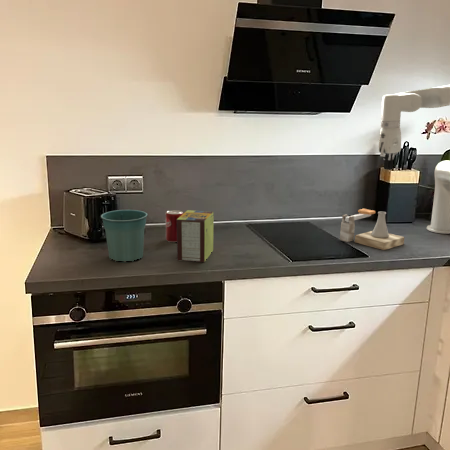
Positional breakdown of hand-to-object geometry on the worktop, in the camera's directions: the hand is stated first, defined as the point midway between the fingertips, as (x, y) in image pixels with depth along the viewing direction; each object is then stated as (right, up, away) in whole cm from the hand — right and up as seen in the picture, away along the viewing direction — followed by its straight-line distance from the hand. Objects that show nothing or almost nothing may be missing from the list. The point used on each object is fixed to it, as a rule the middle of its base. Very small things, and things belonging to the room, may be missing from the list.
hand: (388, 169), depth 220 cm
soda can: (-89, -30, -7) cm, 95 cm away
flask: (-5, -28, -7) cm, 30 cm away
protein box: (-80, -35, -26) cm, 91 cm away
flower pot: (-105, -36, -30) cm, 115 cm away
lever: (-13, -21, 0) cm, 24 cm away
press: (-8, -31, -4) cm, 32 cm away
